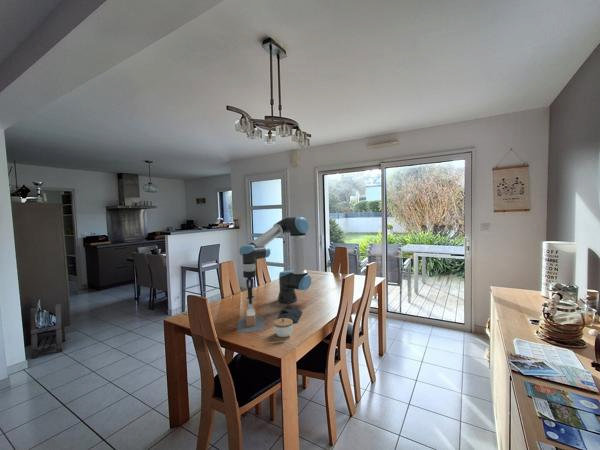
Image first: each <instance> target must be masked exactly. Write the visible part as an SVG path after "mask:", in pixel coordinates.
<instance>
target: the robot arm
mask: <svg viewBox="0 0 600 450" xmlns="http://www.w3.org/2000/svg"><path fill="white" fill-rule="evenodd" d="M309 226H310V225H309V222H308V219H306V218H305V217H302V216H301V217H300V216H297V217H296V216H295V217H294V216H291V217H290V216H289V217H284V218H282V219H281V220H279V221H277V222H276V223H274V224H273V226H271V228H269V229H268V230H267V231H265V232H264V233H262V234H261V235H260V236H258V237H256V239H254V240H252V241H251V242H250V243H248V244H244V245H241V246H240V248H239V254H240V255H241V257H242V265H241V267H242V270H243V271H242V277H243V278H246V279H245V280H246V283H245V284H246V288H247V298H246V300H247V302H248V303H247V304H248V305H247V307H248V309H254V303H253V302H254V299H253V298H254V297H255V296H254V294H253V286H254V284H253V283H254V279H253V278H255V277H256V276H257V272H256V271H257V270H256V268H257V267H256V260H259V259H266V258H268V257H270V255H271V249H270V247H269V246H268V244H270V243H271V242H272V241H273V240H275V239H276V238H278V237H279V236H282V235H284V234H289V236H290V237H291V239H292V241H291V242H292V256H293V257H292V258H293V269H292V270H291V269H290V270H288V269H287V270H282V271H280V272H279V275H278V280H279V281H278V282H279V284H278V285H279V292H278V296H277V302H278V303H281V304H292V303H296V302H298V296H297V293H296V290H298V291H307V290H308V289H309V288H310V287H311V285H312V277H311V275H309V273H308V270H307V269H306V251H305V237H306V234H307V232H308V231H309V228H310V227H309Z"/></svg>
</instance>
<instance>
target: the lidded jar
mask: <svg viewBox="0 0 600 450" xmlns="http://www.w3.org/2000/svg"><path fill="white" fill-rule="evenodd" d="M293 324H294V323H293V321H292V320H291V319H288V318H280V319H278V318H277V319H275V320H273V331H274V333H275V335H276V336H277V337H280V338H287V337H289V336H290V335H291V333H292V331H293V326H294V325H293Z"/></svg>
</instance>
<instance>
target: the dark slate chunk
mask: <svg viewBox="0 0 600 450" xmlns="http://www.w3.org/2000/svg"><path fill="white" fill-rule="evenodd" d="M302 314H303V311H302V310H300V309H298V308H297V307H296V306H292V305H289V304H288V305H286V306H285V309H282V310H280V312H279V315H278V318H277V319H280V318H288V319H291V320H292V321H293V324H297V323H298V322H299V321H300V319H301V317H302Z"/></svg>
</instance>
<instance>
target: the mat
mask: <svg viewBox="0 0 600 450" xmlns="http://www.w3.org/2000/svg"><path fill="white" fill-rule="evenodd" d="M236 327H237V328H236V331H235V332H236V334H237V333H238V334H239V333H240V334H241V333H251V332H259V331H266V328H265V327H266V326H265V316H264V315H261V316H255V326H247V319H246V317H242V318H241V317H239V318H238V322H237V326H236Z"/></svg>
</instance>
